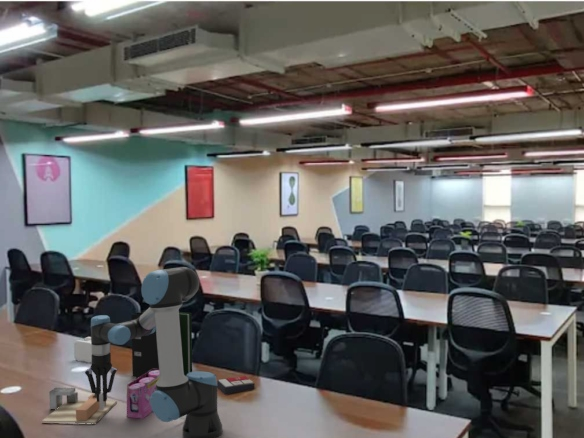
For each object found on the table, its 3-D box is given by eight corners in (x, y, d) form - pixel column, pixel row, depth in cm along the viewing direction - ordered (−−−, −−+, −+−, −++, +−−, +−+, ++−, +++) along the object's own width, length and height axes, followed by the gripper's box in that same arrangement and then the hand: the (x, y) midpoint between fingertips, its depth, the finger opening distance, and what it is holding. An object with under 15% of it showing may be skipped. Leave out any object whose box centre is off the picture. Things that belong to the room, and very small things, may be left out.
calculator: (255, 382, 247) (225, 385, 240) (254, 391, 247) (224, 395, 240) (245, 375, 257) (217, 378, 250) (245, 383, 257) (216, 387, 250)
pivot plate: (94, 424, 209) (94, 402, 208) (41, 423, 210) (41, 401, 210) (116, 403, 231) (116, 383, 230) (68, 402, 232) (68, 382, 232)
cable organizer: (72, 360, 294) (72, 340, 293) (87, 355, 303) (87, 335, 303) (92, 364, 287) (91, 343, 287) (106, 358, 296) (106, 338, 296)
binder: (193, 374, 268) (192, 312, 267) (176, 383, 255) (175, 319, 254) (150, 368, 279) (149, 308, 278) (131, 376, 265) (130, 314, 264)
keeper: (70, 410, 223) (69, 392, 223) (49, 410, 224) (49, 391, 223) (77, 404, 230) (77, 386, 230) (58, 403, 231) (57, 385, 230)
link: (93, 402, 228) (93, 393, 228) (108, 402, 228) (107, 393, 228) (73, 419, 210) (73, 409, 210) (89, 419, 210) (89, 410, 210)
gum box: (141, 420, 213) (141, 387, 212) (124, 418, 214) (123, 386, 214) (169, 398, 236) (168, 369, 235) (153, 397, 238) (152, 367, 237)
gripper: (119, 349, 221) (120, 404, 222) (87, 351, 220) (88, 406, 221) (115, 355, 214) (116, 411, 215) (82, 356, 212) (83, 413, 213)
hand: (102, 408), depth 218 cm, fingers closed
